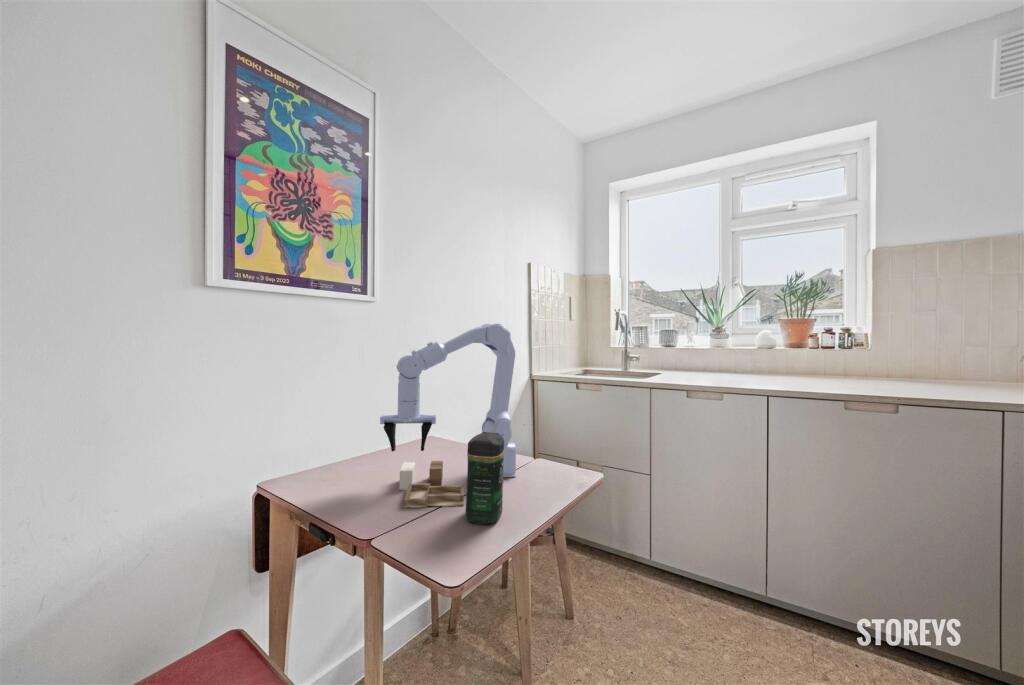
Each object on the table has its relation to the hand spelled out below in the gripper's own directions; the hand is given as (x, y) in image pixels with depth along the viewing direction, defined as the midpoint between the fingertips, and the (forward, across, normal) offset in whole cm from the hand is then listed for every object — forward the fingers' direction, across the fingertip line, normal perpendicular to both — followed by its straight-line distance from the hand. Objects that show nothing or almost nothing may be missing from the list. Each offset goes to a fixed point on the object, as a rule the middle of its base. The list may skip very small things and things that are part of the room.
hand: (408, 450), depth 107 cm
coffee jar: (+10, +20, -20) cm, 30 cm away
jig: (+9, +8, -10) cm, 16 cm away
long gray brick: (+9, 0, 0) cm, 9 cm away
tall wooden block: (+10, +8, +2) cm, 12 cm away
